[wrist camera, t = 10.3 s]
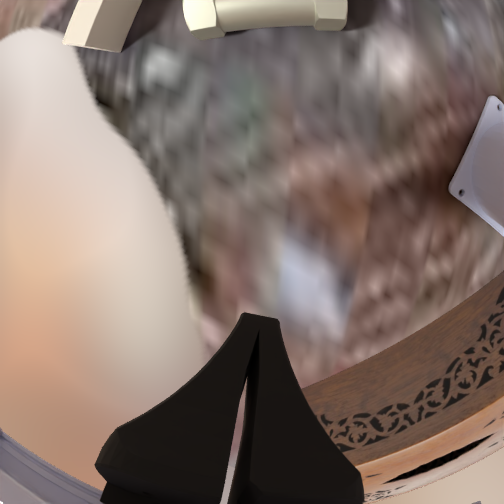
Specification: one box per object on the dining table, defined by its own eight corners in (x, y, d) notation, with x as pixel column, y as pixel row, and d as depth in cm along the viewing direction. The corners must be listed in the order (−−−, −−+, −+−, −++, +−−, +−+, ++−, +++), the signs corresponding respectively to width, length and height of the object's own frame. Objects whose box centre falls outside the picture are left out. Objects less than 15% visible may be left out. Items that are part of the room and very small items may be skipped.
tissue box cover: (341, 443, 31) (343, 509, 23) (276, 396, 28) (266, 485, 19) (521, 348, 22) (554, 410, 13) (510, 262, 18) (574, 336, 9)
